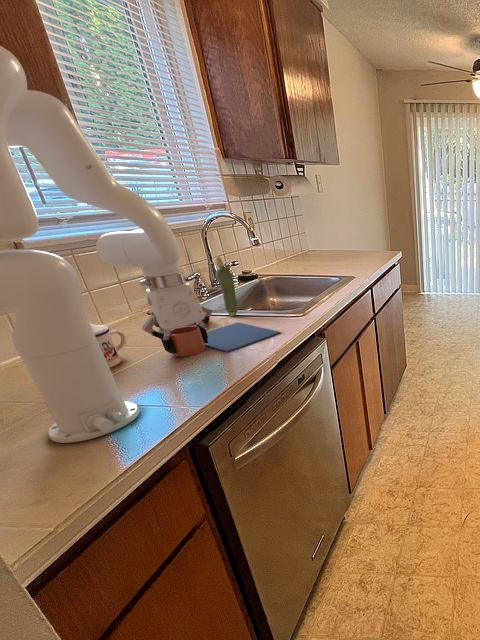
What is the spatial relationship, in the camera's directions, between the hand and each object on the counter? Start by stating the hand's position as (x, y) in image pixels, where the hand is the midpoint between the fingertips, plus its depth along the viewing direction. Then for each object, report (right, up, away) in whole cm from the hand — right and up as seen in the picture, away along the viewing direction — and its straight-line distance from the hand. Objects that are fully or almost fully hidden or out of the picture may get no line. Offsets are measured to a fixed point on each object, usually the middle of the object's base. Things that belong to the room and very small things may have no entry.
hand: (188, 347), depth 105 cm
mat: (+6, +3, +10) cm, 12 cm away
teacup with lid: (-16, -5, -6) cm, 18 cm away
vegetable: (-5, +11, +29) cm, 31 cm away
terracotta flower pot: (0, -1, 0) cm, 1 cm away
